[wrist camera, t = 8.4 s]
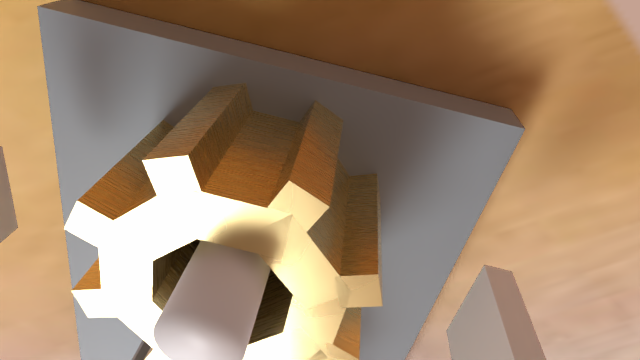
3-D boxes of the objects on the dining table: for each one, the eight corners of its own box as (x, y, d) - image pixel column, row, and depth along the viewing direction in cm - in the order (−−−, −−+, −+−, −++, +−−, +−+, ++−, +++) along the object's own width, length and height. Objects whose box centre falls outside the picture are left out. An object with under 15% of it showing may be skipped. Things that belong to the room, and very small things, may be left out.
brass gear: (151, 58, 12) (50, 121, 8) (408, 123, 12) (422, 213, 9) (148, 254, 16) (79, 356, 12) (343, 301, 16) (334, 417, 13)
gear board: (70, -3, 13) (-217, 70, 7) (511, 109, 13) (634, 279, 7) (100, 357, 23) (-9, 529, 16) (359, 418, 23) (353, 611, 16)
